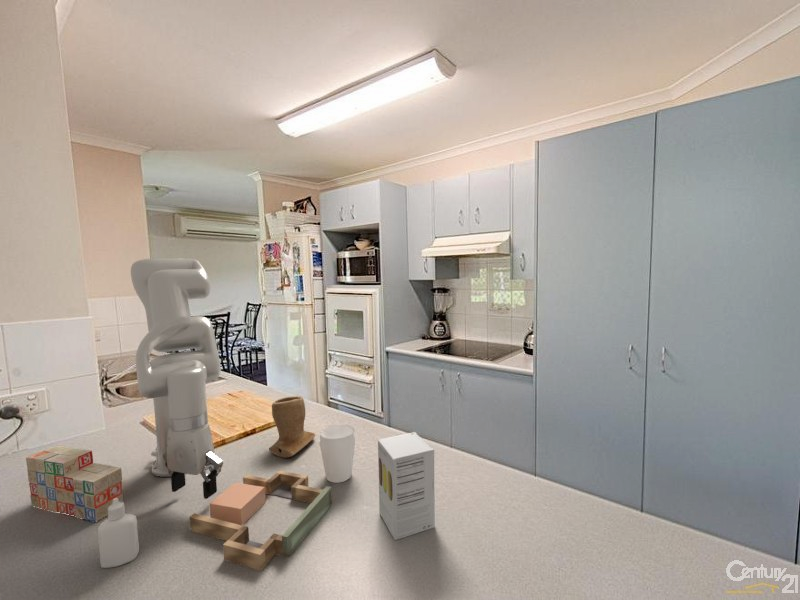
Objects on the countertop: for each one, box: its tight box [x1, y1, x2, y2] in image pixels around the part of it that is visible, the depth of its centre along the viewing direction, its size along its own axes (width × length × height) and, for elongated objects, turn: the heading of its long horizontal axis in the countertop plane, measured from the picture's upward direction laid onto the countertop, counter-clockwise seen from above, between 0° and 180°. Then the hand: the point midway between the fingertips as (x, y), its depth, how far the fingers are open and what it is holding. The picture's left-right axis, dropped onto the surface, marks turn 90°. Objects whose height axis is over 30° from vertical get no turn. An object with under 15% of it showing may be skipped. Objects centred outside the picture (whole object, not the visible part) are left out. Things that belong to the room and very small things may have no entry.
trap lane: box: [188, 470, 333, 571], centre depth 79 cm, size 24×24×4 cm
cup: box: [319, 423, 356, 484], centre depth 94 cm, size 9×9×12 cm
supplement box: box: [377, 431, 436, 541], centre depth 76 cm, size 10×9×17 cm
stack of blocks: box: [25, 445, 124, 523], centre depth 84 cm, size 21×6×12 cm, turn 73°
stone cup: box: [268, 395, 316, 459], centre depth 110 cm, size 15×12×15 cm
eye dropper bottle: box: [97, 498, 140, 569], centre depth 67 cm, size 4×6×12 cm
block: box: [209, 482, 266, 526], centre depth 81 cm, size 8×8×4 cm
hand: (194, 492), depth 85 cm, fingers open, 9 cm apart
